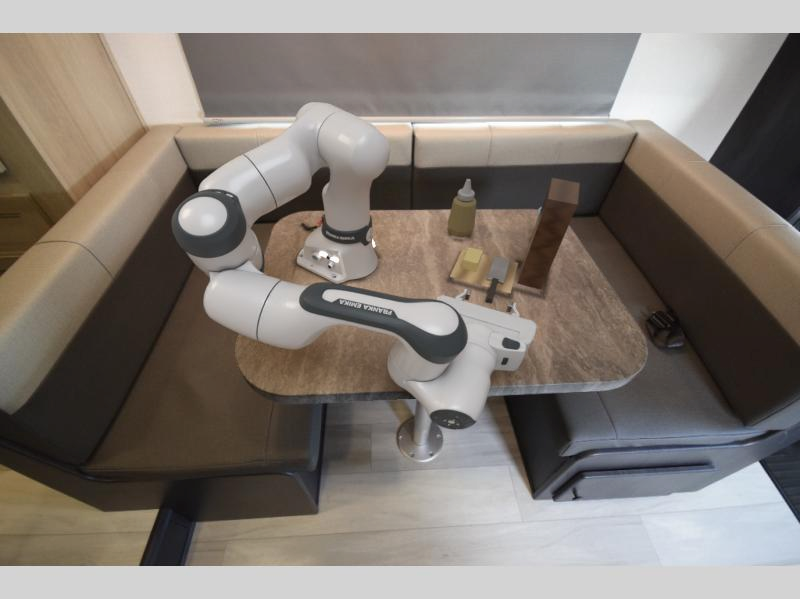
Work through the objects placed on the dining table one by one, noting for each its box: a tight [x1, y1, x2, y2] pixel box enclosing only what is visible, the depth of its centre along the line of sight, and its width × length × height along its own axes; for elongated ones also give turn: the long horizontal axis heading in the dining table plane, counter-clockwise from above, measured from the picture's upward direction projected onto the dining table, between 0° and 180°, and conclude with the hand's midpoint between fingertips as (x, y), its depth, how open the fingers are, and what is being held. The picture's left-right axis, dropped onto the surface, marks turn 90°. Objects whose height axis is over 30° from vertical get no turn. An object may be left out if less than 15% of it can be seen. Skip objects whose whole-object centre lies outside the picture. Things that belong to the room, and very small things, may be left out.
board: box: [449, 248, 519, 294], centre depth 95 cm, size 16×13×2 cm
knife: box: [485, 255, 511, 304], centre depth 91 cm, size 4×18×2 cm, turn 158°
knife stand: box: [517, 177, 581, 290], centre depth 85 cm, size 8×12×26 cm, turn 158°
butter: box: [462, 246, 484, 272], centre depth 95 cm, size 4×6×3 cm, turn 158°
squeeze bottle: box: [447, 178, 477, 238], centre depth 102 cm, size 8×8×18 cm
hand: (489, 297), depth 74 cm, fingers open, 8 cm apart
